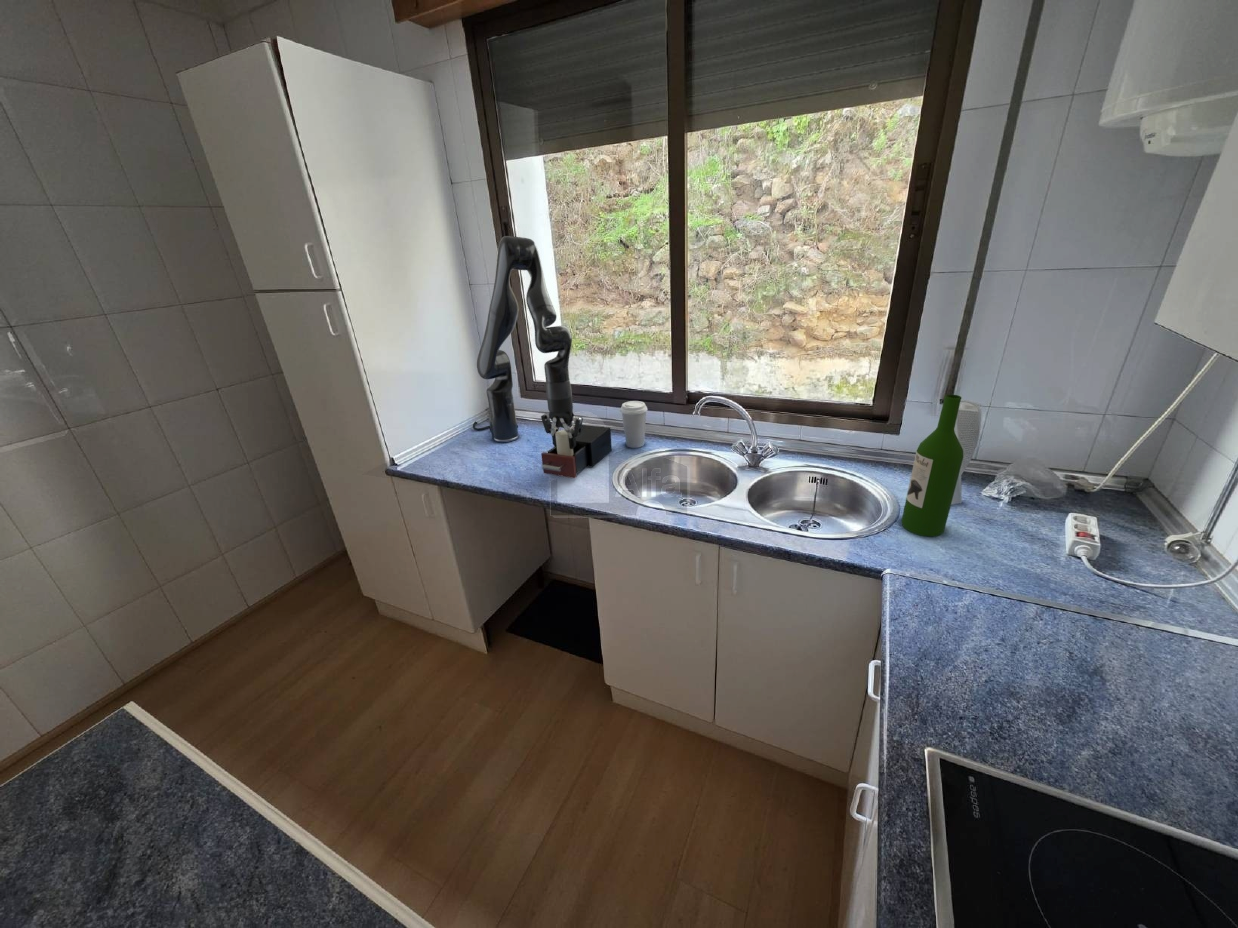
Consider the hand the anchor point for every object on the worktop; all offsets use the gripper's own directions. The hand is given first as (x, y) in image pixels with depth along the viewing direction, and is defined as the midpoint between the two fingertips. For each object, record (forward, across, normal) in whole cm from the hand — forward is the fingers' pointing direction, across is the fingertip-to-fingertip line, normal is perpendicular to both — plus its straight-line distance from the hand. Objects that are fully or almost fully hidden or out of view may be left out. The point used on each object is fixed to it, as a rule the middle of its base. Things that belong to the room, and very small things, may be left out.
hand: (564, 446), depth 153 cm
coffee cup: (+9, -12, -28) cm, 32 cm away
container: (+6, 0, 0) cm, 6 cm away
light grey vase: (+8, -105, -16) cm, 107 cm away
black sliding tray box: (+9, 0, -13) cm, 15 cm away
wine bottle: (+8, -99, 0) cm, 99 cm away
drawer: (+8, 0, +1) cm, 8 cm away
